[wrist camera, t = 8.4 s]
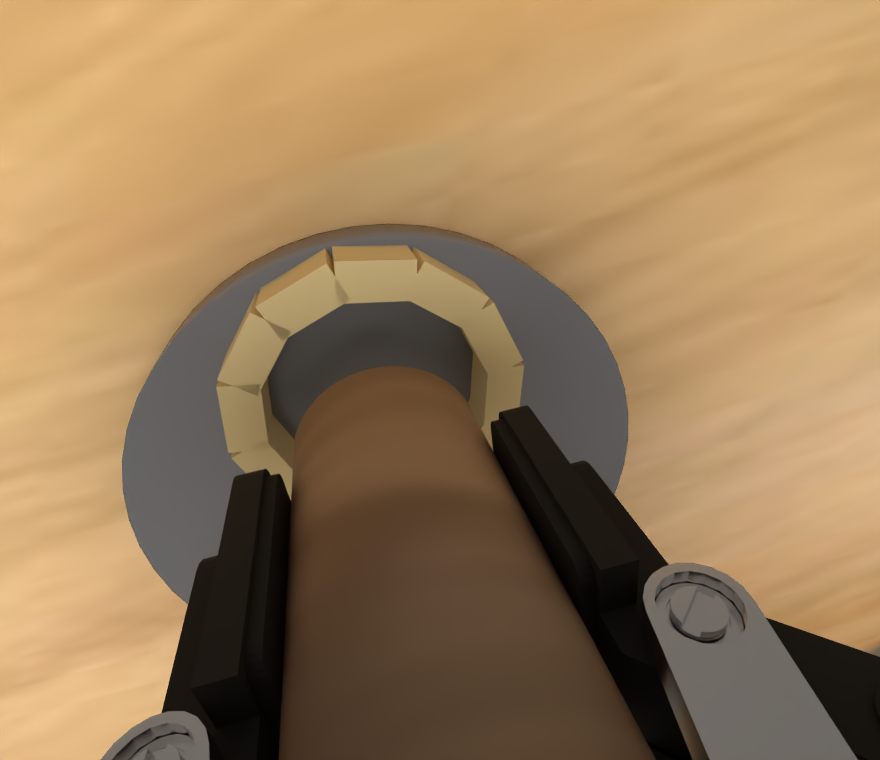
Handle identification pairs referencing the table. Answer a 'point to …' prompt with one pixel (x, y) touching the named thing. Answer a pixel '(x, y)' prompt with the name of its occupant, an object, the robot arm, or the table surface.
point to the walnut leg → (428, 595)
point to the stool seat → (353, 368)
